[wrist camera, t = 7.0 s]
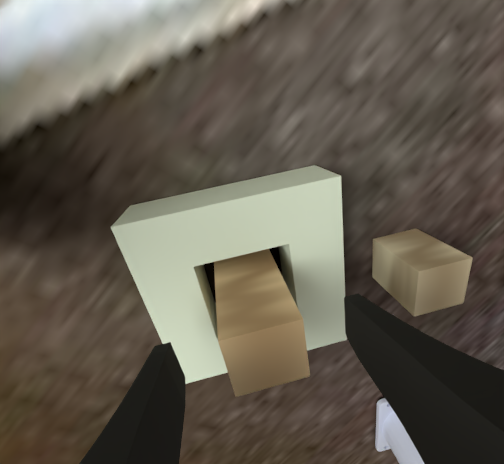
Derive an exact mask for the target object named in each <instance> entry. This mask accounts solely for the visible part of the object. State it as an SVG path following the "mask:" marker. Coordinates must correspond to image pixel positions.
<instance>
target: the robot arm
mask: <svg viewBox="0 0 504 464" xmlns="http://www.w3.org/2000/svg"><path fill="white" fill-rule="evenodd" d="M344 310H345V334H346V336H347V338H348V340H349V342H350V344H351V346H352V348H353V350H354V351H355V353H356V355H357V357H358V359H359V360H360V362H361V363H362V365H363V366H364V368H365V369H366V371H367V372H368V374H369V375H370V377H371V378H372V380H373V381H374V383H375V384H376V386H377V387H378V388H379V390H380V391H381V393H382V394H383V396H384V397H385V398H383V399H380V400H379V401H378V402H377V413H376V439H375V447H376V449H377V451H384V450H387V449H390V448H391V449H392V451H393V453H394V455H395V456H396V458H397V460H398V462H399V463H400V464H504V370H501V369H499V368H496V367H494V366H492V365H489V364H487V363H485V362H482V361H480V360H478V359H476V358H473V357H471V356H469V355H467V354H465V353H462V352H460V351H458V350H456V349H454V348H452V347H450V346H448V345H446V344H444V343H442V342H440V341H438V340H436V339H434V338H432V337H430V336H428V335H426V334H425V333H423V332H421V331H419V330H417V329H415V328H414V327H412V326H410V325H408V324H407V323H405V322H403V321H402V320H400V319H398V318H396V317H395V316H393V315H391V314H390V313H388V312H387V311H385V310H383V309H382V308H380V307H378V306H377V305H375V304H374V303H372V302H370V301H369V300H367V299H366V298H364V297H362V296H361V295H359V294H355V295H351V296H348V297H344ZM184 412H185V375H184V373H183V371H182V368H181V366H180V364H179V361H178V359H177V357H176V354H175V352H174V350H173V347H172V345H171V342H169V343H165V344H161V345H157V346H155V347H154V348H153V350H152V352H151V353H150V355H149V357H148V358H147V360H146V362H145V364H144V365H143V367H142V369H141V371H140V372H139V374H138V376H137V377H136V379H135V381H134V382H133V384H132V386H131V387H130V389H129V391H128V392H127V394H126V396H125V397H124V399H123V401H122V402H121V404H120V405H119V407H118V408H117V410H116V412H115V413H114V415H113V416H112V418H111V419H110V421H109V422H108V424H107V425H106V427H105V428H104V430H103V431H102V433H101V434H100V436H99V437H98V438H97V440H96V441H95V443H94V444H93V446H92V447H91V448H90V450H89V451H88V453H87V454H86V455H85V457H84V458H83V459H82V461H81V462H80V463H79V464H179V457H180V448H181V439H182V431H183V421H184Z"/></svg>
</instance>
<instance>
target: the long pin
mask: <svg viewBox="0 0 504 464" xmlns="http://www.w3.org/2000/svg"><path fill="white" fill-rule="evenodd" d="M214 275H215V294H216V313H217V331H218V343H219V346H220V349H221V352H222V355H223V358H224V361H225V365H226V368H227V371H228V374H229V377H230V380H231V383H232V386H233V390H234V393H235V396H236V397H238V396H241V395H245V394H249V393H252V392H256V391H259V390H263V389H266V388H270V387H274V386H277V385H281V384H284V383H288V382H291V381H295V380H299V379H302V378H306V377H309V376H310V371H309V363H308V355H307V347H306V339H305V331H304V323H303V318H302V316H301V314H300V312H299V310H298V308H297V306H296V304H295V301H294V299H293V297H292V295H291V293H290V291H289V289H288V287H287V285H286V283H285V281H284V279H283V277H282V275H281V273H280V271H279V269H278V267H277V265H276V263H275V260H274V258H273V256H272V254H271V252H270V250H269V249H265V250H261V251H257V252H253V253H249V254H245V255H240V256H236V257H232V258H228V259H224V260H220V261H215V262H214Z"/></svg>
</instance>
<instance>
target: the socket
mask: <svg viewBox="0 0 504 464" xmlns="http://www.w3.org/2000/svg"><path fill="white" fill-rule="evenodd" d="M111 230H112V232H113V234H114V236H115V238H116V241H117V243H118V245H119V247H120V250H121V252H122V254H123V256H124V258H125V261H126V263H127V265H128V267H129V270H130V272H131V274H132V276H133V278H134V281H135V283H136V285H137V287H138V290H139V292H140V294H141V296H142V298H143V301H144V303H145V305H146V307H147V310H148V312H149V314H150V316H151V318H152V321H153V323H154V325H155V327H156V330H157V332H158V334H159V336H160V338H161V341H162V343H163V344H165V343H169V342H171V345H172V347H173V350H174V352H175V354H176V357H177V359H178V361H179V364H180V366H181V368H182V371H183V373H184V375H185V384H187V383H190V382H194V381H198V380H201V379H205V378H209V377H212V376H216V375H220V374H223V373H227V372H228V371H227V368H226V365H225V361H224V358H223V355H222V352H221V349H220V346H219V343H218V331H217V313H216V303H215V301H214V298H213V295H212V291H211V288H210V285H209V281H208V278H207V275H206V272H205V268H204V265H203V264H207V263H211V262H215V261H220V260H224V259H228V258H232V257H236V256H240V255H245V254H249V253H253V252H257V251H261V250H265V249H269V248H274V247H278V249H279V256H280V262H281V269H282V275H283V279H284V281H285V283H286V285H287V287H288V289H289V291H290V293H291V295H292V297H293V299H294V301H295V304H296V306H297V308H298V310H299V312H300V314H301V316H302V318H303V323H304V331H305V339H306V347H307V350H311V349H315V348H318V347H322V346H326V345H329V344H333V343H337V342H340V341H344V340H347V336H346V334H345V310H344V297H345V275H344V246H343V217H342V188H341V176H340V175H338V174H335V173H333V172H331V171H328V170H326V169H323V168H321V167H318V166H316V165H313V166H309V167H304V168H300V169H295V170H290V171H286V172H281V173H277V174H272V175H268V176H263V177H258V178H254V179H249V180H245V181H240V182H236V183H231V184H226V185H222V186H217V187H213V188H208V189H204V190H199V191H194V192H190V193H185V194H181V195H176V196H172V197H167V198H162V199H158V200H153V201H149V202H144V203H139V204H135V205H130V206H129V207H128V208H127V210H126V211H125V212H124V213H123V214H122V215H121V216H120V217H119V218H118V220H117V221H116V222H115V223H114V224H113V225H112V226H111Z"/></svg>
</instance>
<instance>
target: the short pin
mask: <svg viewBox="0 0 504 464" xmlns="http://www.w3.org/2000/svg"><path fill="white" fill-rule="evenodd" d="M472 259H473V258H472V257H471V256H469V255H467V254H465V253H463V252H461V251H459V250H457V249H455V248H453V247H451V246H449V245H447V244H445V243H443V242H441V241H439V240H437V239H435V238H434V237H432V236H430V235H428V234H426V233H424V232H422V231H420V230H418V229H412V230H408V231H404V232H400V233H396V234H392V235H387V236H383V237H379V238H375V239H373V264H372V277H373V278H374V279H375V280H376V281H377V282H378V283H379V284H380V285H381V286H382V287H383V288H384V289H385V290H386V291H387V292H388V293H389V294H391V295H392V296H393V297H394V298H395V299H396V300H397V301H398V302H399V303H400V304H401V305H402V306H403V307H404V308H405V309H406V310H408V311H409V312H410V313H411V314H412V315H413V316H418V315H422V314H425V313H429V312H433V311H436V310H440V309H444V308H447V307H451V306H455V305H458V304H462V303H464V298H465V293H466V288H467V283H468V278H469V274H470V269H471V264H472Z"/></svg>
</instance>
